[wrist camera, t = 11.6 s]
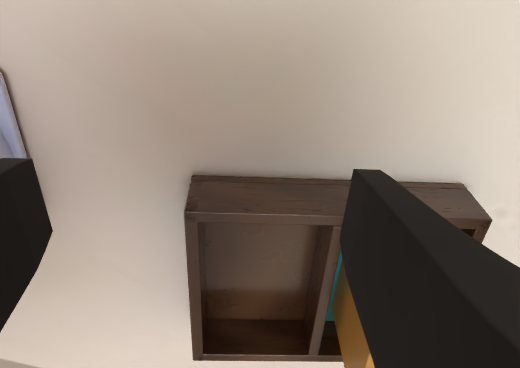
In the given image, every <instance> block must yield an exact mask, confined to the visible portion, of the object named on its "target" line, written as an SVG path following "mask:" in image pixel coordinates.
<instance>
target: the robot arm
mask: <svg viewBox="0 0 520 368" xmlns="http://www.w3.org/2000/svg"><path fill="white" fill-rule="evenodd" d="M52 232H53V230H52V227H51V223H50V220H49V216H48V213H47V209H46V206H45V202H44V199H43V195H42V192H41V188H40V185H39V182H38V178H37V175H36V171H35V168H34V164H33V161H32V159H29V158H27V155H26V152H25V148H24V145H23V142H22V138H21V135H20V131H19V128H18V125H17V121H16V118H15V114H14V111H13V108H12V104H11V101H10V97H9V94H8V91H7V87H6V84H5V81H4V77H3V75H2V73H1V72H0V332H1V330H2V328H3V327H4V325H5V323H6V322H7V320H8V318H9V317H10V315H11V313H12V312H13V310H14V308H15V307H16V305H17V303H18V302H19V300H20V298H21V297H22V295H23V293H24V291H25V290H26V288H27V286H28V285H29V283H30V281H31V279H32V278H33V276H34V274H35V272H36V271H37V269H38V266H39V264H40V262H41V259H42V257H43V255H44V252H45V250H46V247H47V245H48V242H49V239H50V237H51V234H52ZM339 239H340V245H341V251H342V257H343V263H344V268H345V274H346V278H347V281H348V284H349V288H350V291H351V294H352V297H353V300H354V304H355V307H356V310H357V313H358V316H359V319H360V322H361V326H362V329H363V332H364V335H365V338H366V341H367V344H368V348H369V351H370V354H371V357H372V360H373V363H374V367H375V368H520V268H519V267H518V266H516V265H514V264H513V263H511V262H509V261H508V260H506V259H504V258H503V257H501V256H499V255H498V254H496V253H495V252H493V251H492V250H490V249H489V248H487V247H486V246H484V245H483V244H481V243H480V242H478V241H477V240H475V239H474V238H472V237H471V236H469V235H468V234H466V233H465V232H463V231H462V230H460V229H459V228H458V227H456V226H455V225H453V224H452V223H451V222H449V221H448V220H447V219H445V218H444V217H442V216H441V215H440V214H438V213H437V212H436V211H434V210H433V209H432V208H430V207H429V206H428V205H426V204H425V203H424V202H423V201H421V200H420V199H419V198H417V197H416V196H415V195H413V194H412V193H411V192H410V191H408V190H407V189H406V188H404V187H403V186H402V185H400V184H399V183H398V182H397V181H395V180H394V179H392V178H391V177H390V176H388V175H387V174H385V173H384V172H382V171H381V170H366V169H353V174H352V179H351V184H350V189H349V194H348V199H347V203H346V208H345V213H344V218H343V223H342V228H341V232H340V237H339Z"/></svg>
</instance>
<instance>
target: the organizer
mask: <svg viewBox="0 0 520 368" xmlns="http://www.w3.org/2000/svg"><path fill="white" fill-rule="evenodd" d="M398 183H399V184H400V185H402V186H403V187H404V188H406V189H407V190H408V191H410V192H411V193H412V194H413V195H415V196H416V197H417V198H419V199H420V200H421V201H423V202H424V203H425V204H426V205H428V206H429V207H430V208H432V209H433V210H434V211H436V212H437V213H438V214H440V215H441V216H442V217H444V218H445V219H447V220H448V221H449V222H451V223H452V224H453V225H455V226H456V227H458V228H459V229H460V230H462V231H463V232H465V233H466V234H468V235H469V236H471V237H472V238H474V239H475V240H477V241H478V242H480V243H481V244H482V242H483V239H484V237H485V235H486V233H487V231H488V229H489V227H490V224H491V222H492V219H491V217H490V216H489V215H488V214H487V213H486V211H485V210H484V209H483V208H482V206H481V205H480V204H479V203H478V202H477V200H476V199H475V198H474V197H473V195H472V194H471V193H470V192H469V191H468V190H467V188H466V187H465V186H464V185H463V184H443V183H411V182H398ZM350 184H351V181H347V180H315V179H283V178H251V177H219V176H192V178H191V182H190V187H189V191H188V196H187V200H186V205H185V210H184V220H185V236H186V253H187V269H188V286H189V302H190V319H191V335H192V352H193V360H194V361H317V362H343V358H342V353H341V349H340V344H339V339H338V335H337V330H336V326H335V321H334V316H333V312H332V304H333V300H334V295H335V290H336V286H337V281H338V277H339V272H340V268H341V263H342V259H343V257H342V251H341V245H340V239H339V237H340V232H341V228H342V223H343V218H344V213H345V208H346V203H347V199H348V194H349V189H350Z"/></svg>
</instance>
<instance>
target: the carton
mask: <svg viewBox="0 0 520 368" xmlns="http://www.w3.org/2000/svg"><path fill="white" fill-rule="evenodd" d="M332 312H333V316H334V321H335V326H336V330H337V335H338V339H339V344H340V349H341V353H342V358H343V362H344V367H345V368H375V367H374V363H373V360H372V357H371V354H370V351H369V348H368V344H367V341H366V338H365V335H364V332H363V329H362V326H361V322H360V319H359V316H358V313H357V310H356V307H355V304H354V300H353V297H352V294H351V291H350V288H349V284H348V281H347V278H346V274H345V268H344V263H343V259H342V263H341V268H340V272H339V277H338V281H337V286H336V290H335V295H334V300H333V304H332Z"/></svg>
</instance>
